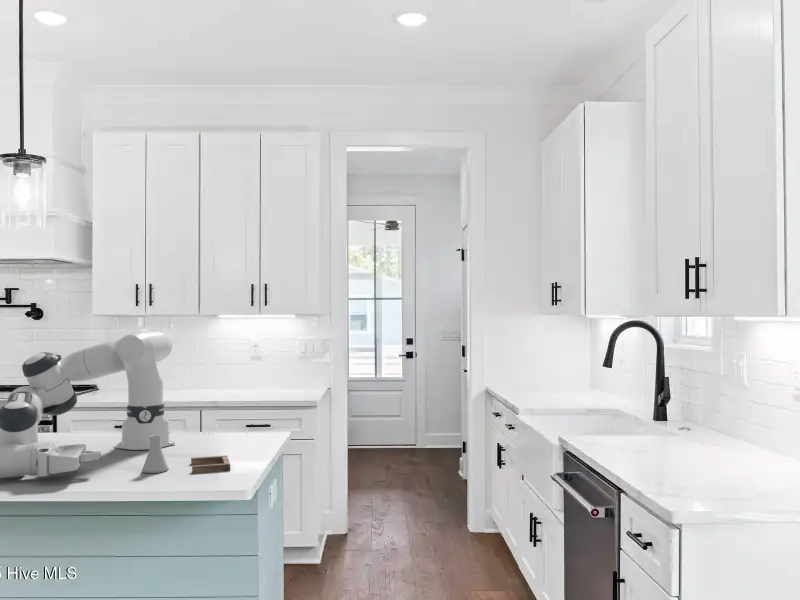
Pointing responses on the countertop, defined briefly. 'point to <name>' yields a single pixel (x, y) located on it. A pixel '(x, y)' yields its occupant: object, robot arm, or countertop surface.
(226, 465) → the dock
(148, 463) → the flask
